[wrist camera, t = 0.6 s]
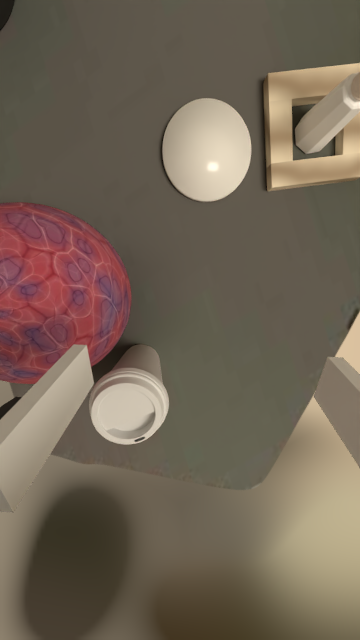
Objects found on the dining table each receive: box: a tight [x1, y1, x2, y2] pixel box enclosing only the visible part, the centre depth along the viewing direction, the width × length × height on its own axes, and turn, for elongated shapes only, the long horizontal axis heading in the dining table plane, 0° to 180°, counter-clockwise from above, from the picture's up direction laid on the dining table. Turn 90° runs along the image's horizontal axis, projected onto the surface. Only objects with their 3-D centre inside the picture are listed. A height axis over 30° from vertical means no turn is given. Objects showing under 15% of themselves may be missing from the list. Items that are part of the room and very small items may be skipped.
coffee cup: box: [89, 344, 169, 444], centre depth 32 cm, size 10×10×15 cm
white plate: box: [162, 98, 251, 202], centre depth 33 cm, size 13×13×1 cm
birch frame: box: [263, 63, 360, 191], centre depth 33 cm, size 14×14×2 cm
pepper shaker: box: [295, 72, 360, 154], centre depth 28 cm, size 5×5×11 cm
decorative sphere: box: [0, 202, 131, 384], centre depth 27 cm, size 20×20×20 cm
